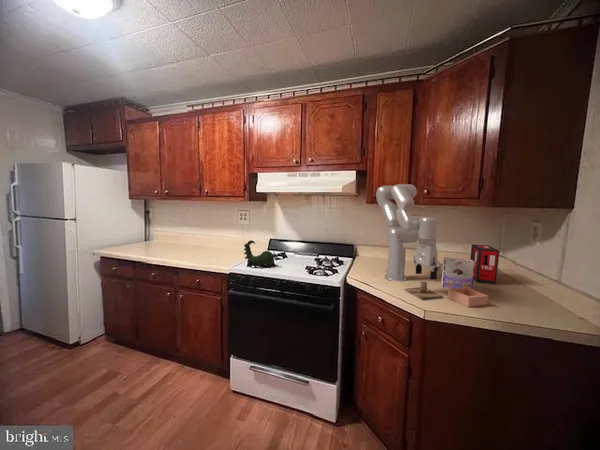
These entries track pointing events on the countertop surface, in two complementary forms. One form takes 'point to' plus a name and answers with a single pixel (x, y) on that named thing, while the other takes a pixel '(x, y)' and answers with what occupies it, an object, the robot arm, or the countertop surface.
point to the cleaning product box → (485, 263)
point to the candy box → (457, 273)
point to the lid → (423, 292)
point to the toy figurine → (260, 259)
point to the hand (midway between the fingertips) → (425, 276)
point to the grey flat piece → (431, 299)
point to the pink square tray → (467, 297)
